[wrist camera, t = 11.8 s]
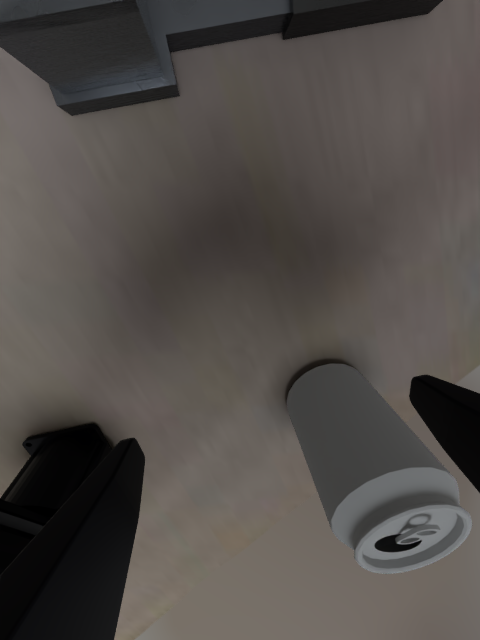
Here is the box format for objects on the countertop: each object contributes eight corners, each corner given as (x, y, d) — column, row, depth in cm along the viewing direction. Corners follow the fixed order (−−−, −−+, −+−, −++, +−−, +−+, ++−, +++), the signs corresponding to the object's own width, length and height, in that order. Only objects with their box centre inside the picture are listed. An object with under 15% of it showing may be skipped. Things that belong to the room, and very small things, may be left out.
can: (273, 415, 24) (322, 584, 13) (300, 350, 21) (391, 497, 11) (340, 425, 26) (435, 584, 15) (374, 365, 23) (521, 507, 12)
